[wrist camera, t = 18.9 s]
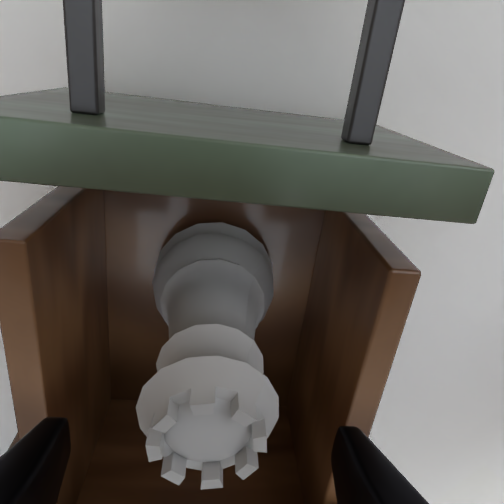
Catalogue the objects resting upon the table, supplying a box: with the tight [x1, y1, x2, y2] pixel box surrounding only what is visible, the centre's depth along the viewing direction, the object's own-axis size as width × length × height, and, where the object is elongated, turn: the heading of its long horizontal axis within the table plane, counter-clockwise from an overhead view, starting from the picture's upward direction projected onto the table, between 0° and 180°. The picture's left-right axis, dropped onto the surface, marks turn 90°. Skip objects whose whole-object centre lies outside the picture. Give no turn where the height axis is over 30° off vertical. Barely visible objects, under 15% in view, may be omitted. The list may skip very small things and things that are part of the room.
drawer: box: [0, 0, 494, 504], centre depth 12 cm, size 19×11×7 cm, turn 173°
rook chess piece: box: [136, 222, 279, 490], centre depth 12 cm, size 4×4×8 cm
